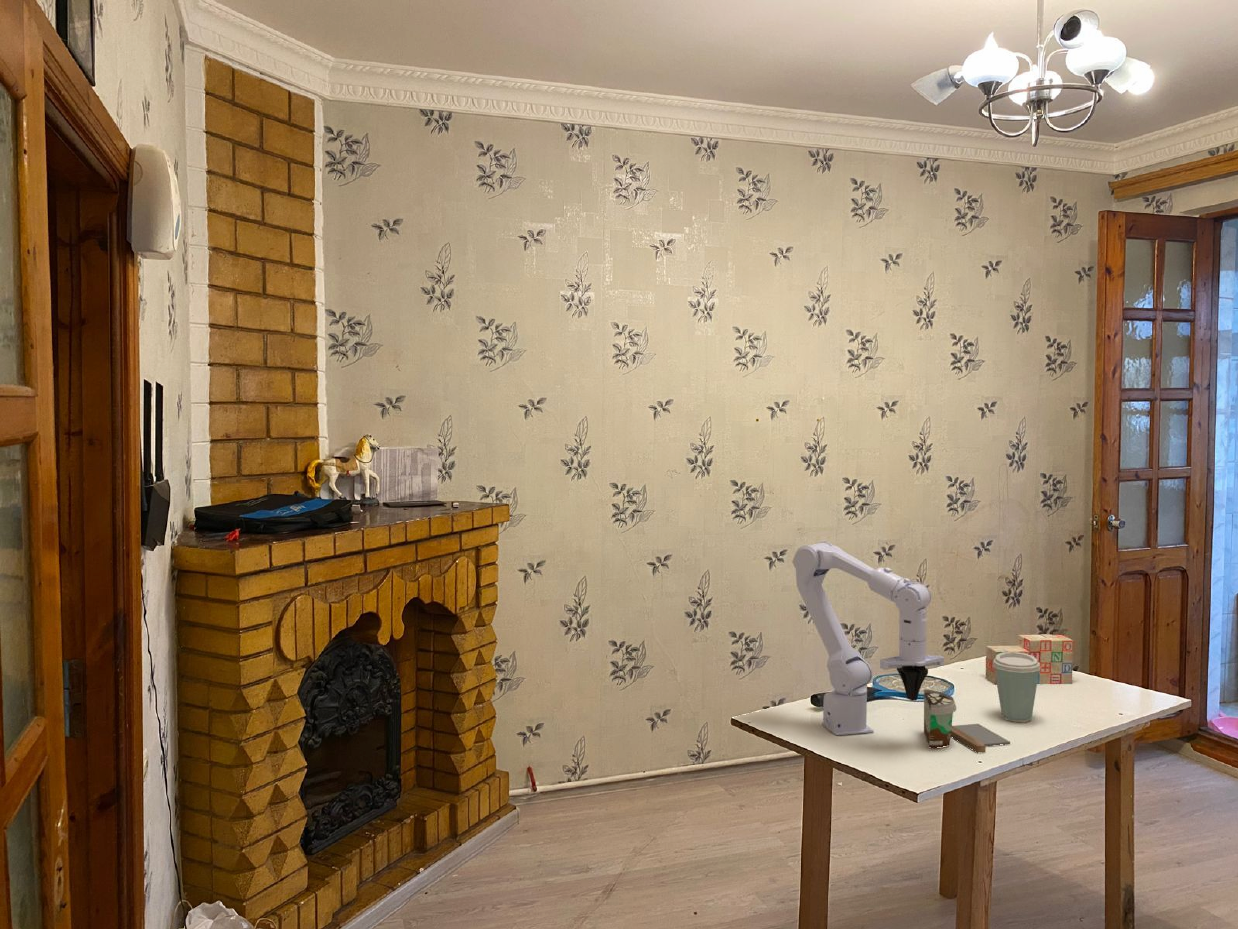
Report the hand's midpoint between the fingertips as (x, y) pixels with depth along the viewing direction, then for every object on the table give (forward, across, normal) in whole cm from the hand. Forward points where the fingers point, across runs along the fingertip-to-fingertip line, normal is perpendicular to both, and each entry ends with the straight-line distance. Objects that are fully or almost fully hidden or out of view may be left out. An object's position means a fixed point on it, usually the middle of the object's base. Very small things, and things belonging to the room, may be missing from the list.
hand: (911, 699), depth 202 cm
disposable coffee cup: (+10, +33, +10) cm, 36 cm away
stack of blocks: (+11, +56, +36) cm, 67 cm away
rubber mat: (+10, +17, +1) cm, 20 cm away
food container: (+10, +7, 0) cm, 13 cm away
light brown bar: (+10, +12, 0) cm, 16 cm away
